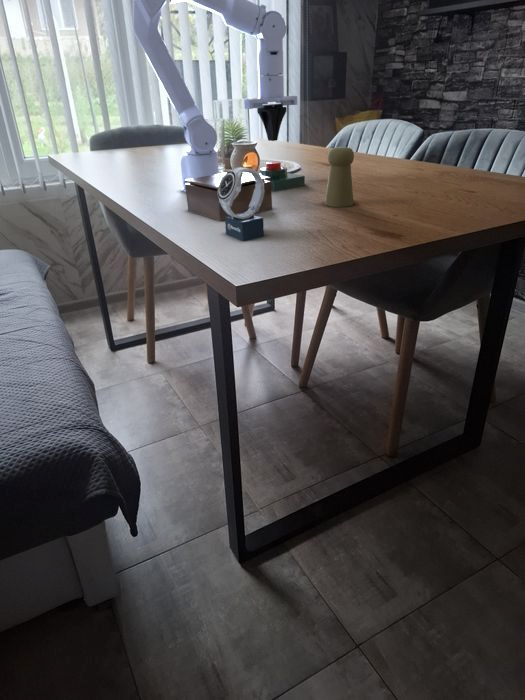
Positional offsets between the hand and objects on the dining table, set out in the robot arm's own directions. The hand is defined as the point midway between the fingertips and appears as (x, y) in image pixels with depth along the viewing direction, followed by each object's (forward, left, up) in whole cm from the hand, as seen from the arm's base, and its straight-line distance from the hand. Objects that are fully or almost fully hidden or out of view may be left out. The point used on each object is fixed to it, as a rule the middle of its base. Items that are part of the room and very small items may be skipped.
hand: (272, 140), depth 116 cm
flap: (+13, -20, -4) cm, 24 cm away
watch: (+30, -32, -11) cm, 45 cm away
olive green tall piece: (+26, -4, -11) cm, 28 cm away
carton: (+13, -23, -10) cm, 28 cm away
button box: (0, 0, -10) cm, 10 cm away
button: (0, 0, -7) cm, 7 cm away
